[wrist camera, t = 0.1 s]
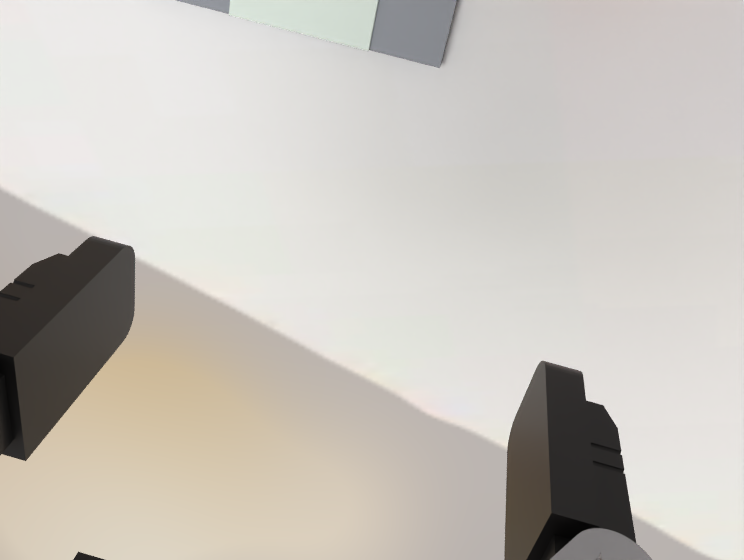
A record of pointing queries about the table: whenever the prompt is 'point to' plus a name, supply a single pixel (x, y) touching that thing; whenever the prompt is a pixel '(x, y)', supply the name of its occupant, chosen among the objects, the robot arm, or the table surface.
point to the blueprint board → (356, 22)
